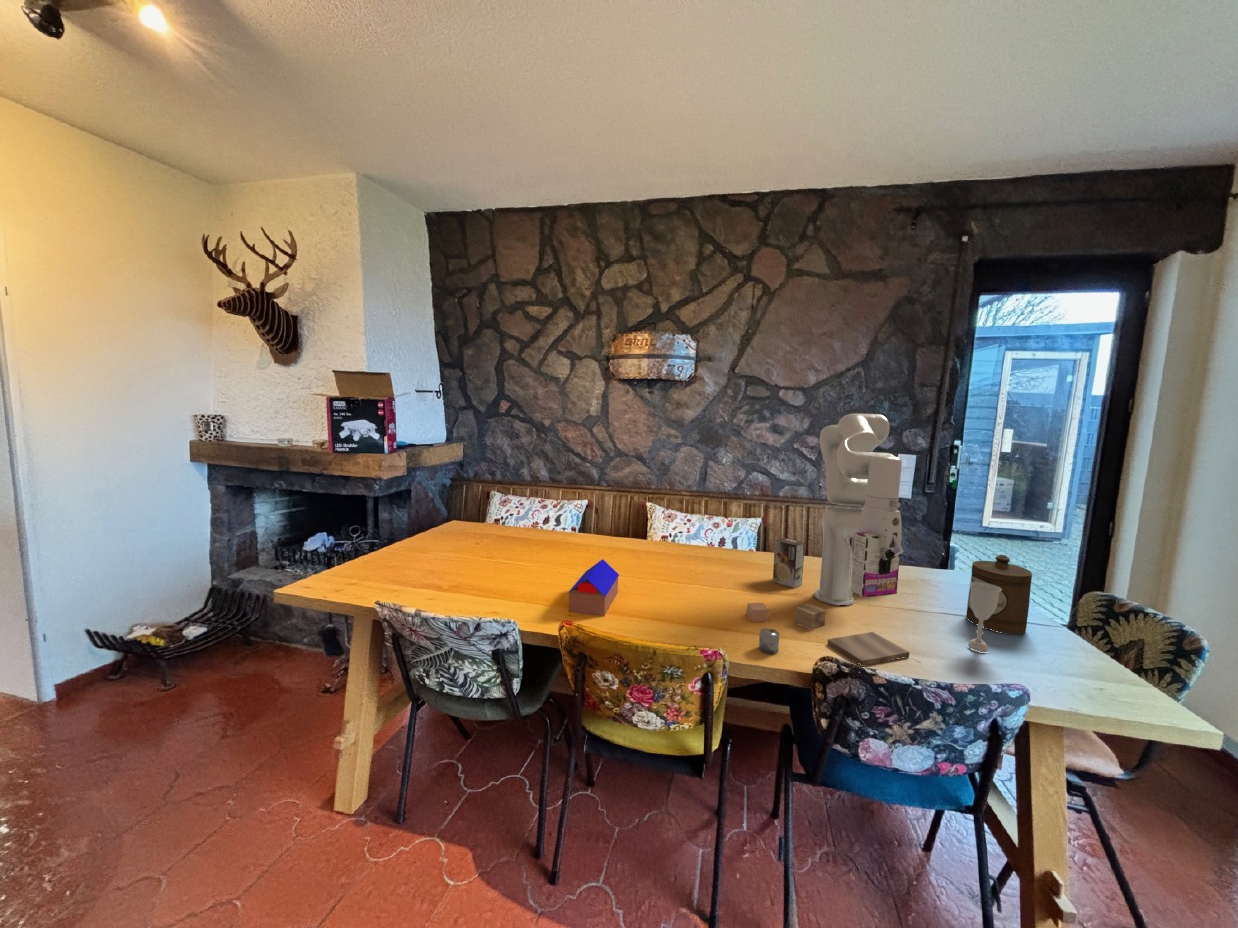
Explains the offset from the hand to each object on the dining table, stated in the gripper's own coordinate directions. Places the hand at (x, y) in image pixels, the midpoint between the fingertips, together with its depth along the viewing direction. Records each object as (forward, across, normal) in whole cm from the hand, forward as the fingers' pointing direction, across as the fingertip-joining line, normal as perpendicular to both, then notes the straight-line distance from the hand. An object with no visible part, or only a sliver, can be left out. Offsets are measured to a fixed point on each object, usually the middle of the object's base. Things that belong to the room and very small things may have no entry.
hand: (875, 569), depth 131 cm
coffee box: (+23, +49, -12) cm, 56 cm away
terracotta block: (+23, +26, +17) cm, 39 cm away
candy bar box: (+7, 0, 0) cm, 7 cm away
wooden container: (+23, +2, -53) cm, 58 cm away
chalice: (+23, -8, -31) cm, 39 cm away
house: (+23, +51, +62) cm, 84 cm away
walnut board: (+23, 0, 0) cm, 23 cm away
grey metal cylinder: (+23, +8, +26) cm, 36 cm away
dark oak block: (+23, +18, +4) cm, 30 cm away
